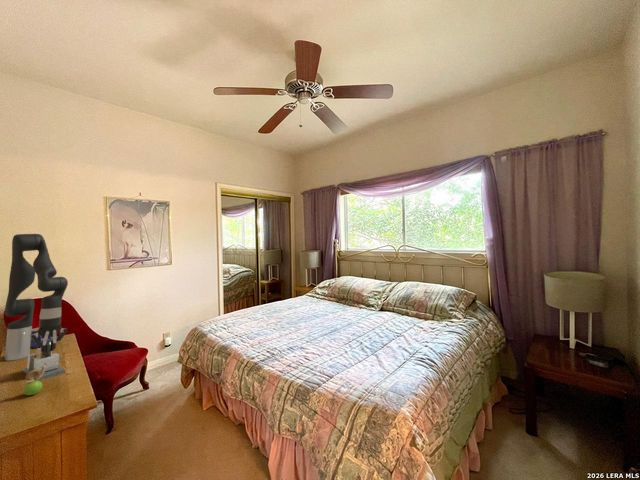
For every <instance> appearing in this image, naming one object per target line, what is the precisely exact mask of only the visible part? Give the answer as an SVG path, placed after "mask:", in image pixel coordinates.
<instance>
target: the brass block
mask: <svg viewBox="0 0 640 480" xmlns="http://www.w3.org/2000/svg"><path fill="white" fill-rule="evenodd" d="M35 351H36V352H35V353H36V358H38V357H42V356H45V353H43V352H41V347H40V348H35ZM51 352H52V353H53V351H51Z"/></svg>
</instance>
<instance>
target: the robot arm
mask: <svg viewBox="0 0 640 480" xmlns="http://www.w3.org/2000/svg"><path fill="white" fill-rule="evenodd" d="M11 247H12V248H11V265H10V272H9V279H8V280H9V281H8V292H7V296H6V302H5V306H4V307H5V308H4V314H5V316H6V317H17V316H19V317H21V316H23V317H21V318H20V319H19V318H18V319H16V320H14V321H12V322H9V323H8V324H7V330H6V340H5V341H6V342H5V344H6V345H5V355H4V360H5V361H16V360H17V361H18V360H22V359H25V358H28V355H29V354H31V346H30V345H31V338H32V340H33V341H34V342H35V344H37V345H41V347H40V348H41V352H43V353H45V352H46V342H47V339H48V337H51V341H52V347H51V351H52V352H53V351H54V350H56V348H57V346H56V345H57V342H60V341H62V339H63V338H64V337H65V335H66V333H67V332H68V329H67V328H63V327H62V325H61V323H62V312H63V311H62V302H63V301H62V299H63V297H64V295H65V292H66V290H67V287H68V286H69V285H68V283H69V282H68V279H67V278H66V277H64V276H57V277H56V275H57V271H58V270H57V268H55V265H54V263H53V262H52V259H51V257H50V253H49V250H48V246H47V243H46V240H45V238H44V236H43V235H42V234H39V233H17V234H15V235H13V237H12V242H11ZM31 251H34V252H35V251H38V254H37V256H36V258H34V261H33V263H32V264H31V263H30V262H28V260H27V259H26V258H25V257H24V252H31ZM36 276H37V289H38V290H39V291H41V292H43V293H48V292H52V294H50V295H46V296H44V297H43V298H42V299H41V307H40V313H39V322H38V323H39V324H38V328H39V329H38V331H37V332H36V333H35V334H31V333H32V329H33V317H34V311H35V310H34V309H35V300H34V299H33V298H22V299H18V298H19V296H20V295H21V294H22V293H24V292H25V290H26V289H28V288H30V286H32V284H34V282H35V278H36ZM58 333H59V334H58ZM38 334H39V335H40V336H42V339H41V342H40V341H39V340H38V339H37V337H38ZM57 334H58V336H57Z"/></svg>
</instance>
